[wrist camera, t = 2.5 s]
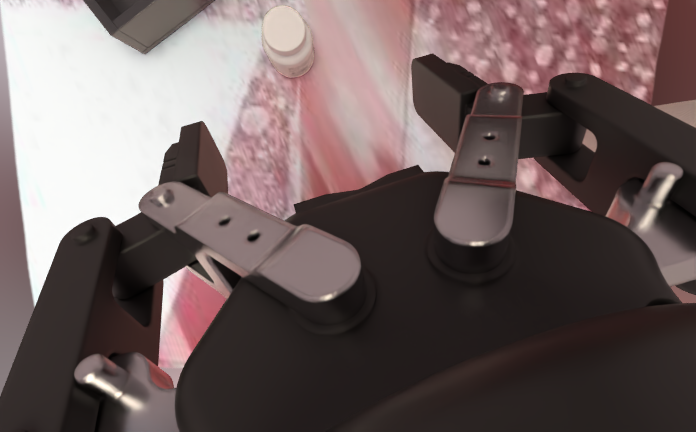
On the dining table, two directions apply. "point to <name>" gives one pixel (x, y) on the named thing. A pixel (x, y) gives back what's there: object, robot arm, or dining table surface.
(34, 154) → the dining table surface
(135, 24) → the open box
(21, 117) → the dining table surface
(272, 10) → the pill bottle
